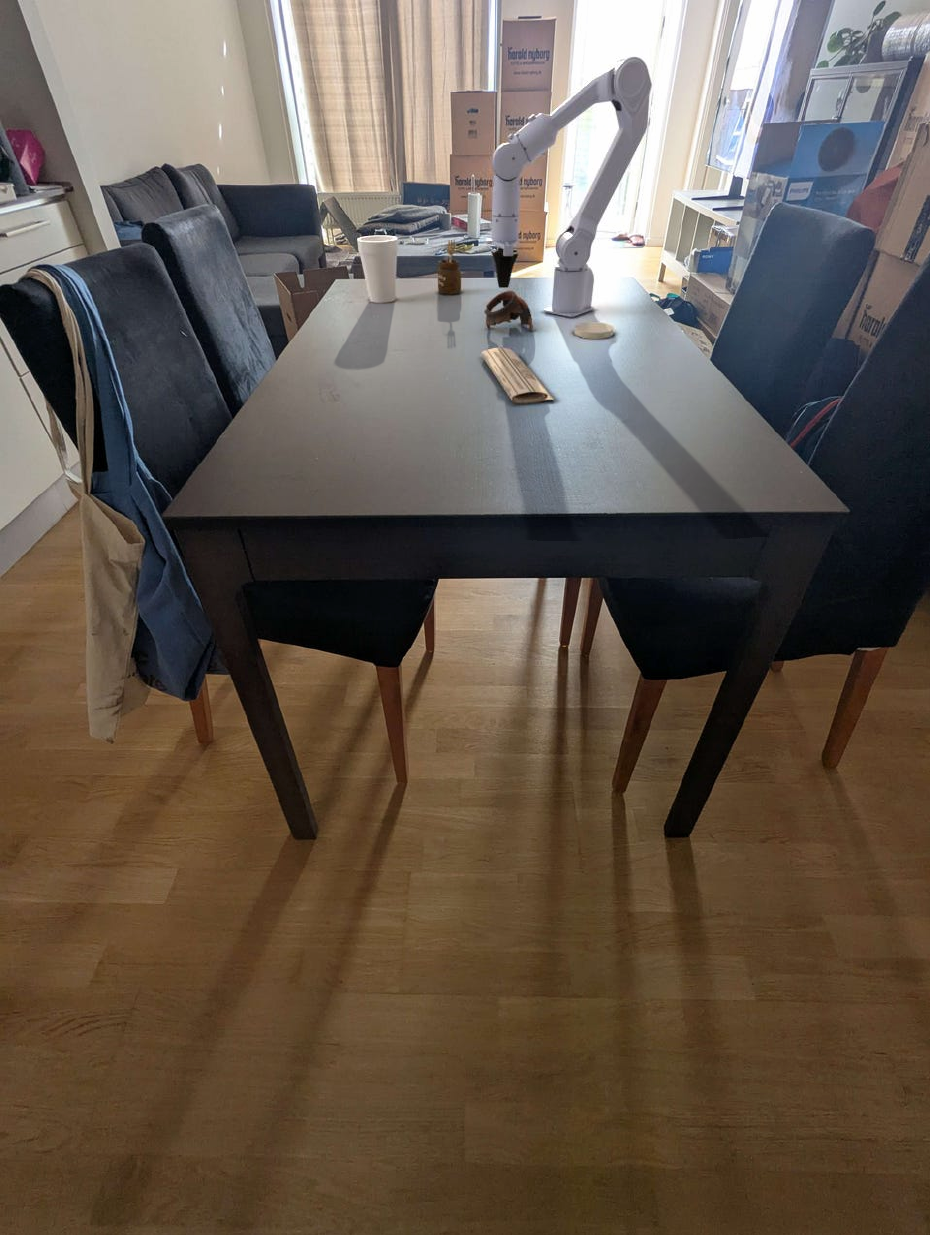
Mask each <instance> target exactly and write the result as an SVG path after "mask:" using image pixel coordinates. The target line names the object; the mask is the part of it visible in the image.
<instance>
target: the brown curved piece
mask: <svg viewBox="0 0 930 1235" xmlns="http://www.w3.org/2000/svg"><path fill="white" fill-rule="evenodd" d="M501 303H502V306H503V307H501V308H500V309H497V310H494V311H492V310H493V309H494V308H495V307H497V306H498V305H500V304H501ZM485 307H486V308H485V310H484V314H485V315H486V316H485V326H486V328H487V329H488V330H490V329H491V326H494V327H495V326H496V325H500V324H502V323H504V322H506V323H509V324H511V322H512V321H516V320H518V319H519V320H520V325H521V326H524V325H525V326H526V325H527V326H529V328H528V329H529V331H530V332H532V331H533V329H534V325H533V317H532V313H531V310H530V308H529V305H528V303H527V302H526V300H525V299H523V298H522V297H521V296H519V295H517V293H516V292H515V291H514V290H506V291H503V292H501V293H499V294H497V295H496V296H494V297H493V298H491V300H489V302H488V303H487V304H486V306H485Z"/></svg>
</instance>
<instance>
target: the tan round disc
mask: <svg viewBox="0 0 930 1235" xmlns="http://www.w3.org/2000/svg"><path fill="white" fill-rule="evenodd" d="M614 328H615V327H614V326H613V325H612V324H609V323H605V322H599V321H598V322H597V321H586V322H580V323H577V324H575V325H574V331H573V334H574V335H575V336H577V337H579V338H584V339H588V340H589V339H590V340H602V339H608V338H611V337H612V336H614Z"/></svg>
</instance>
